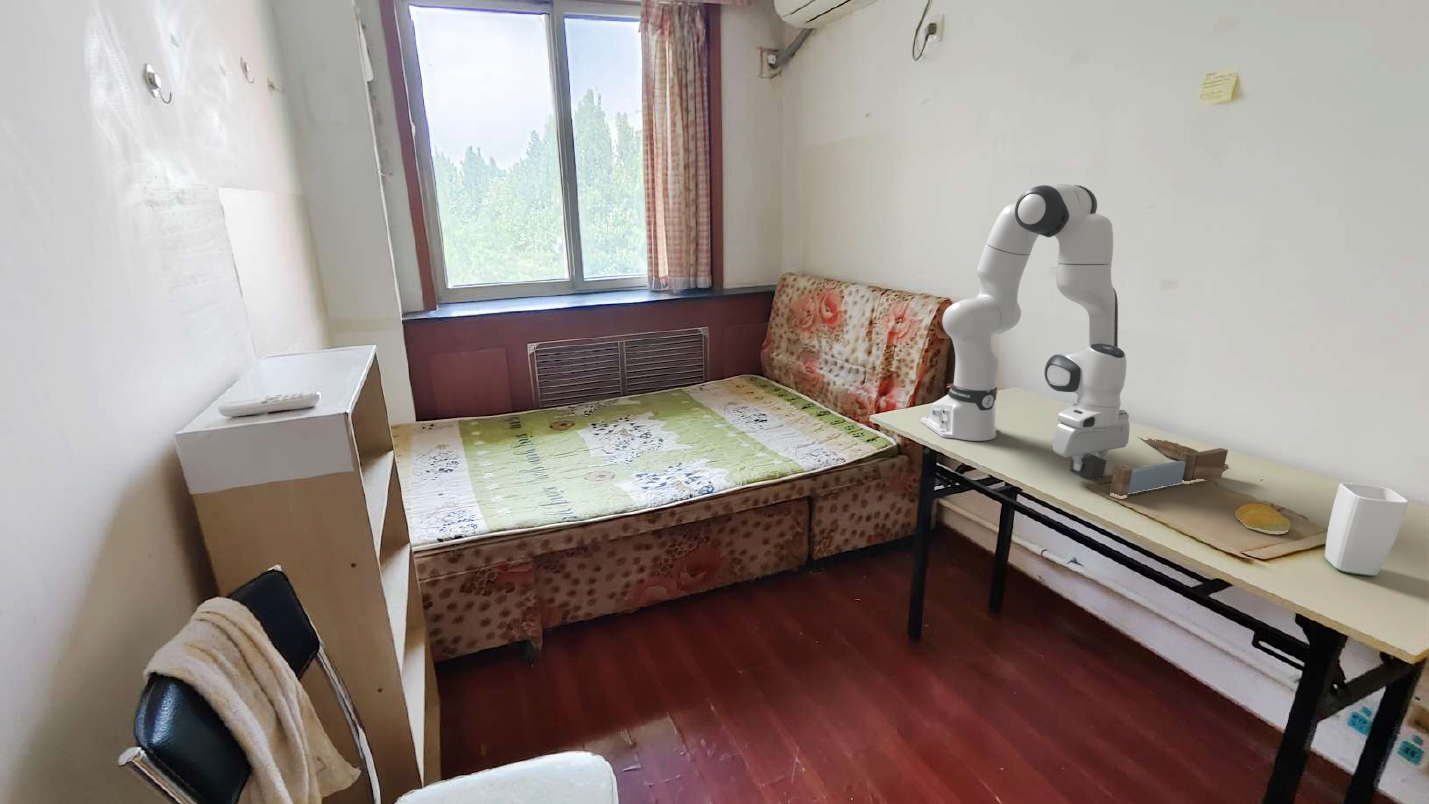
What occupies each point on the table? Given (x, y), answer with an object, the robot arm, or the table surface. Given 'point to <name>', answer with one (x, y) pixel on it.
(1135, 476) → the gate
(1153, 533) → the table surface
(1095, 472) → the block
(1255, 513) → the bread roll
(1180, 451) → the wooden fragment
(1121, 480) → the block
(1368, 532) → the cup
